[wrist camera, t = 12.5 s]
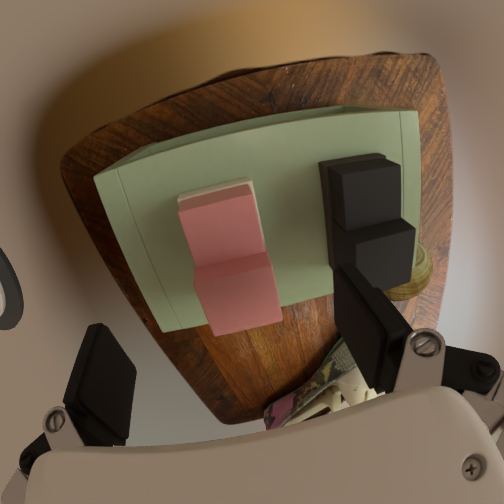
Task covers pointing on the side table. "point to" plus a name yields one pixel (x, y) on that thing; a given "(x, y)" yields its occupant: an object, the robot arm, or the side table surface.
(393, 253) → the black stepped block
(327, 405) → the ballet flat
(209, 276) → the pink stepped block
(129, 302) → the side table surface
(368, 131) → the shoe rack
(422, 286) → the seashell
